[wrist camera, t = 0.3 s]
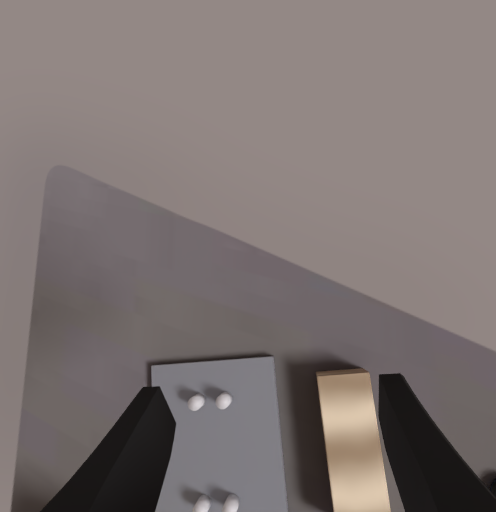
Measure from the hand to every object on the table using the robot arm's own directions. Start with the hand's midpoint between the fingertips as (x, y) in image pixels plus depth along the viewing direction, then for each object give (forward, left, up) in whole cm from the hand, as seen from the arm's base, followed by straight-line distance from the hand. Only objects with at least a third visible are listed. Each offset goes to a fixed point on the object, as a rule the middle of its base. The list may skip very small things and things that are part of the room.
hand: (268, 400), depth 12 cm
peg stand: (-10, +9, -29) cm, 31 cm away
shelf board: (-10, -5, -29) cm, 31 cm away
